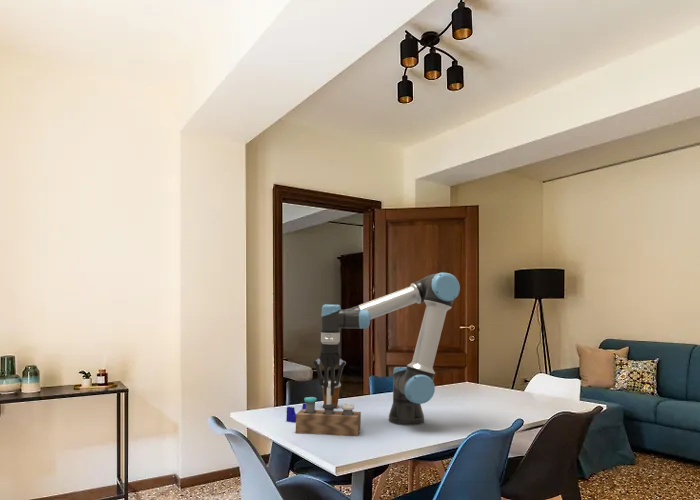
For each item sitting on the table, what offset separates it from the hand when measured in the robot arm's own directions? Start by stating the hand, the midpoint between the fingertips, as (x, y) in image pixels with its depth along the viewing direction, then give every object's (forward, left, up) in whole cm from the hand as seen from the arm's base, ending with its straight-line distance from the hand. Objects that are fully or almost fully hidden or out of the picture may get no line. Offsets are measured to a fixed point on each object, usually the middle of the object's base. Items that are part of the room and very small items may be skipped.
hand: (328, 404), depth 204 cm
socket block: (0, 0, -10) cm, 10 cm away
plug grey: (-8, 0, -9) cm, 12 cm away
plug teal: (+7, 0, -7) cm, 10 cm away
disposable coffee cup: (+7, -46, -11) cm, 48 cm away
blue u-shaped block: (+16, -18, -11) cm, 26 cm away
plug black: (0, 0, -9) cm, 9 cm away
